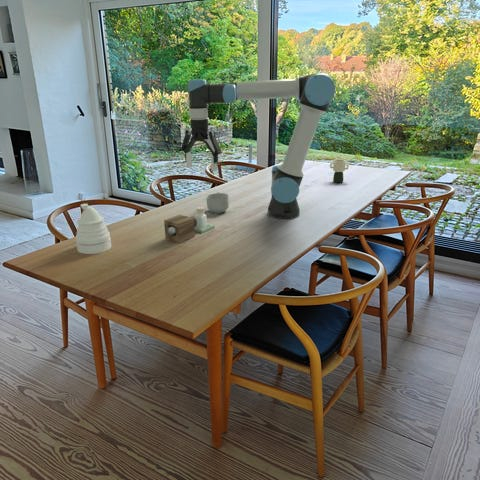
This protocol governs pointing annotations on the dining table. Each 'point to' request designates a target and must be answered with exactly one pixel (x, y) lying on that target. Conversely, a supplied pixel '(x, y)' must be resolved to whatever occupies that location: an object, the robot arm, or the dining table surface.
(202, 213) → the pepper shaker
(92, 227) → the honey pot
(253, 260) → the dining table surface
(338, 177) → the trophy cup
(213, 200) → the teacup
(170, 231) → the shaft
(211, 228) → the keeper socket
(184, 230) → the bearing block
